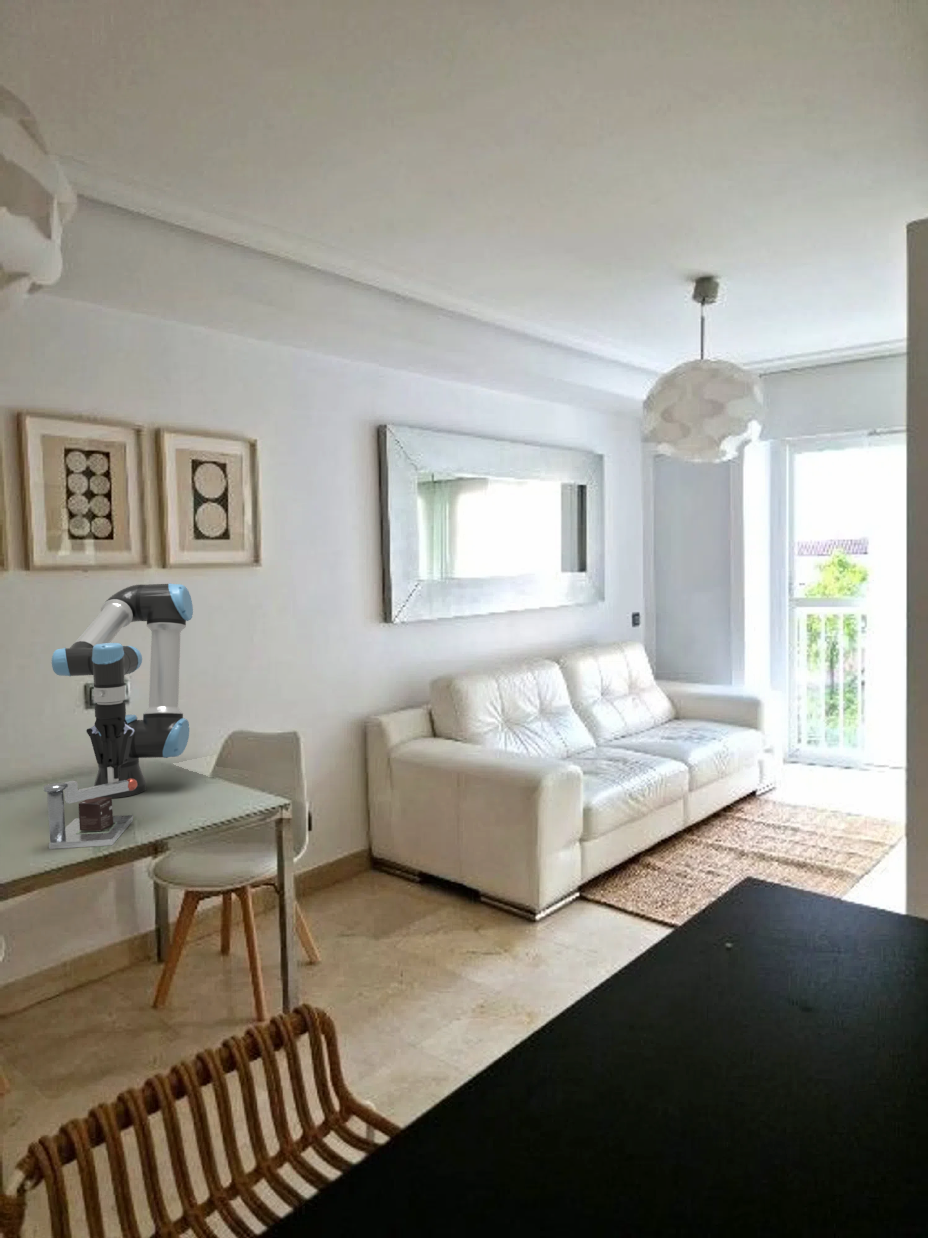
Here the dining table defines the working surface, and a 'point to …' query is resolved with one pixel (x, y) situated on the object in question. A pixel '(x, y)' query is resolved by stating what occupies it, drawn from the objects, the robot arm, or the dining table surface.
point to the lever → (90, 789)
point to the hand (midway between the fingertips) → (113, 790)
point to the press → (72, 832)
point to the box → (95, 814)
